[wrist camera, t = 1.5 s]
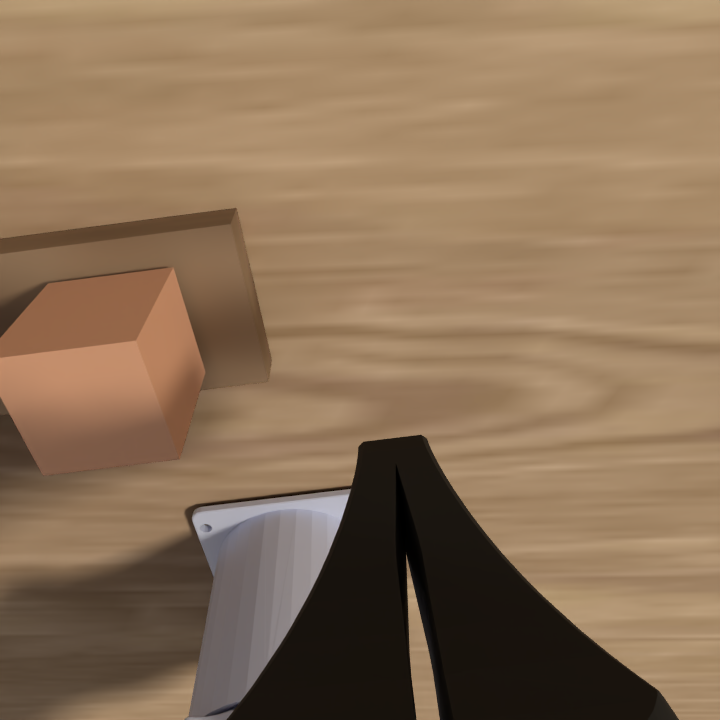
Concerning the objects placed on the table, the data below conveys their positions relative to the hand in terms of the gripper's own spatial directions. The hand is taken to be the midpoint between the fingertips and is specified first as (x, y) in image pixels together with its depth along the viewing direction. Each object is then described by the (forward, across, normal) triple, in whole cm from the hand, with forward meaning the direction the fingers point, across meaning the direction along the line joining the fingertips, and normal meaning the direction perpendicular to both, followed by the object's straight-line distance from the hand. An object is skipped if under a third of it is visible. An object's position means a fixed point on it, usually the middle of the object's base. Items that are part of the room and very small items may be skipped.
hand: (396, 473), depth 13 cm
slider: (+8, +8, 0) cm, 12 cm away
